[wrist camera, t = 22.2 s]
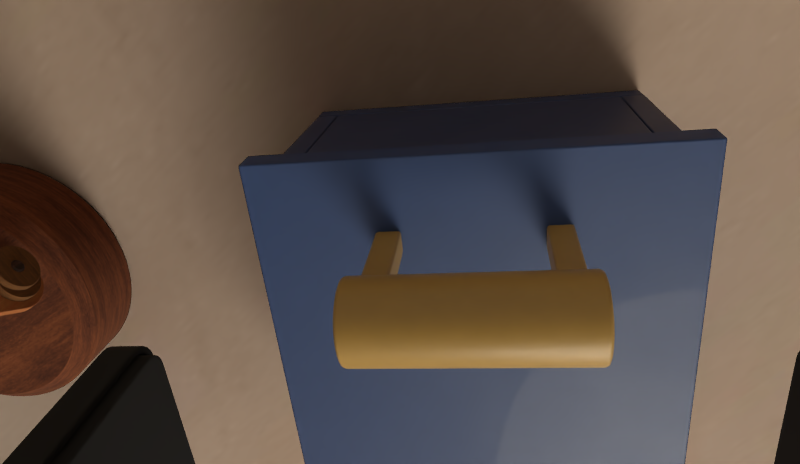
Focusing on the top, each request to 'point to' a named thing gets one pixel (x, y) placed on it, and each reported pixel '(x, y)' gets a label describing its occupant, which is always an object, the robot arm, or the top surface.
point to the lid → (491, 296)
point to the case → (484, 122)
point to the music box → (54, 283)
